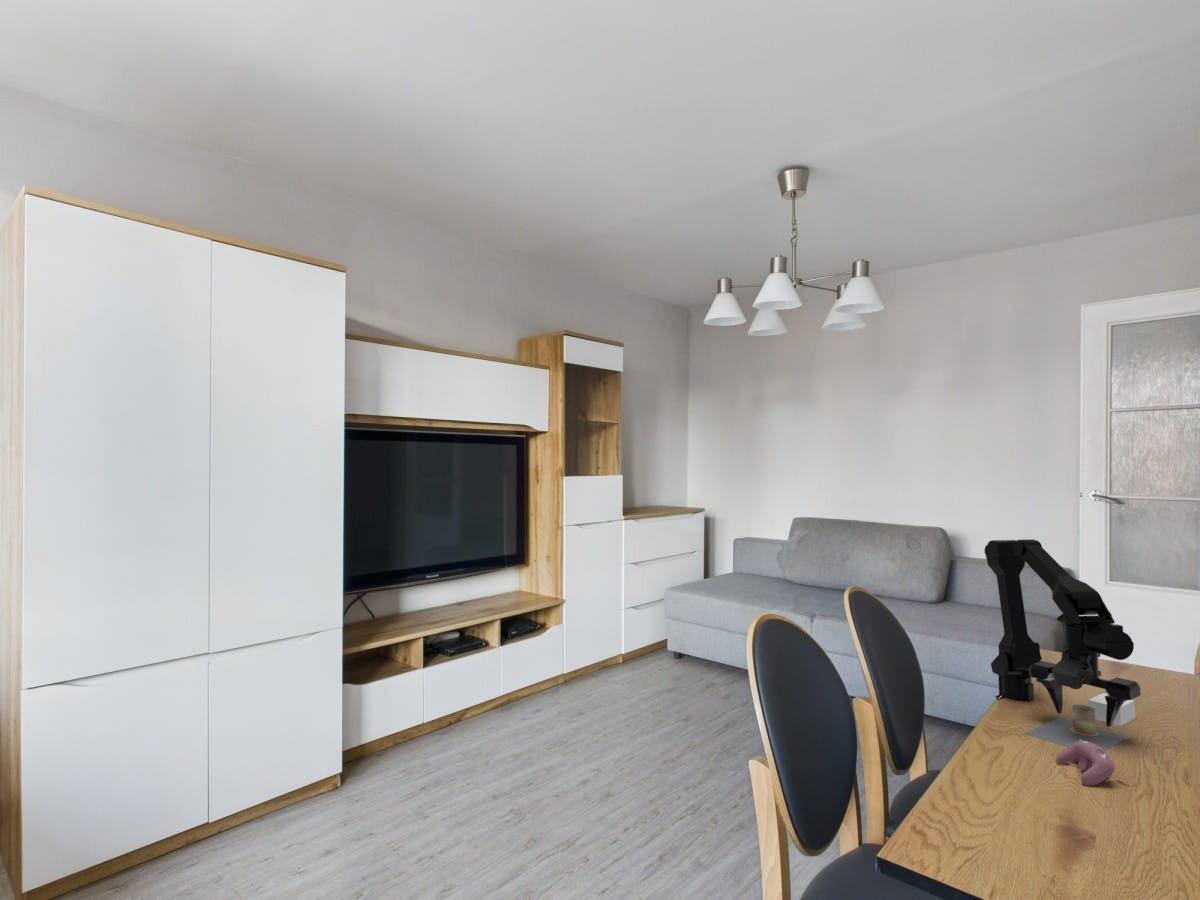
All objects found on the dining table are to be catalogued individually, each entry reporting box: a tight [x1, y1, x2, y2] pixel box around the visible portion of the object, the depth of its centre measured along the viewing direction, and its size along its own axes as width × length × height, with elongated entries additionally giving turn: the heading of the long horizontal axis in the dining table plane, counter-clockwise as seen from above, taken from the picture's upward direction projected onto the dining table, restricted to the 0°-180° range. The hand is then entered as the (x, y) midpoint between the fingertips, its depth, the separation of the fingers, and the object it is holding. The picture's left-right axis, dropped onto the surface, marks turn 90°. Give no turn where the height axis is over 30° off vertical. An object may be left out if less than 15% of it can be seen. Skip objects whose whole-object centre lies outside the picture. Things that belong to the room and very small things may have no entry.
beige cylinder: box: [1071, 704, 1097, 735], centre depth 139 cm, size 4×4×5 cm
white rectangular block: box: [1087, 692, 1136, 727], centre depth 146 cm, size 6×8×5 cm
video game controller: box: [1056, 740, 1116, 787], centre depth 121 cm, size 10×5×7 cm, turn 170°
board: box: [1023, 716, 1132, 751], centre depth 137 cm, size 13×17×1 cm
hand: (1083, 719), depth 139 cm, fingers open, 9 cm apart
